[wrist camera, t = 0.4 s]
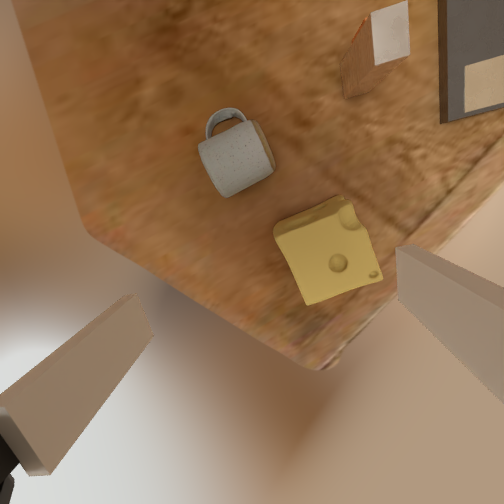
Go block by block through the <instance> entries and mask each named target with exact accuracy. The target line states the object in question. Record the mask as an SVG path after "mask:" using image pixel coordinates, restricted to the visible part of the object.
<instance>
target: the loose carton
mask: <svg viewBox="0 0 504 504" xmlns="http://www.w3.org/2000/svg"><path fill="white" fill-rule="evenodd" d="M409 55H410V43H409V22H408V1H404V2H401V3H398V4H395V5H392V6H389V7H386V8H383V9H380V10H377V11H374V12H371V13H370V15H369V16H368V17H366V18H365V19H364V20H363V22H362V24H361V26H360V27H359V29H358V31H357V33H356V34H355V36H354V38H353V39H352V45H351V47H350V48H349V50H348V52H347V53H346V55H345V57H344V58H343V60H342V62H341V63H340V70H341V78H342V87H343V95H344V99H347V98H351V97H354V96H358V95H361V94H364V93H368V92H369V91H370V90H371V89H372V88H373V87H375V86H376V85H377V84H378V83H379V82H380V81H381V80H382V79H383V78H385V77H386V76H387V75H388V74H389V73H390V72H391V71H392V70H394V69H395V68H396V67H397V66H398V65H399V64H400V63H401V62H403V61H404V60H405V59H406V58H407V57H408V56H409Z"/></svg>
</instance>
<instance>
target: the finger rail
mask: <svg viewBox="0 0 504 504" xmlns="http://www.w3.org/2000/svg"><path fill="white" fill-rule="evenodd" d="M438 33H439V88H440V124H442V123H446V122H450V121H454V120H457V119H461V118H465V117H469V116H473V115H477V114H481V113H484V112H488V111H492V110H496V109H500V108H504V0H438Z"/></svg>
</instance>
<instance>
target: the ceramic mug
mask: <svg viewBox="0 0 504 504" xmlns="http://www.w3.org/2000/svg"><path fill="white" fill-rule="evenodd" d="M232 117H237V118H240V119H241V120H242V121H243V122H242V123H239V124H237V125H235V126H234V127H232V128H230V129H228V130H226V131H224V132H222V133H220V134H218V135H215V136H213V137H211V135H212V130H213V128H214V126H215V125H216V124H217V123H219V122H221V121H223V120H225V119H228V118H232ZM198 151H199V154H200V157H201V160H202V162H203V165H204V167H205V169H206V171H207V173H208V175H209V176H210V178H211V180H212V182H213V184H214V186H215V187H216V189H217V190H218V191H219V192H220V194H221V195H222V196H223V197H225V198H228V197H230V196H232V195H234V194H236V193H238V192H240V191H242V190H244V189H246V188H247V187H249V186H251V185H253V184H255V183H257V182H259V181H260V180H262V179H264V178H266V177H268V176H269V175H270V174H272V173H273V172H274V171H275V168H276V164H275V160H274V157H273V155H272V152H271V149H270V147H269V145H268V142H267V140H266V138H265V135H264V133H263V131H262V129H261V127H260V125H259V123H258V122H257V121H255V120H248V121H247V119H246V117H245V116H244V115H243V113H242V112H241V111H239V110H238V109H235V108H225V109H221V110H219V111H217V112H215V113H214V114H213V115H212V116H211V117H210V118H209V120H208V122H207V125H206V140H205V141H203V142H201V143H200V144H198Z"/></svg>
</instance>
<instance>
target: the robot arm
mask: <svg viewBox="0 0 504 504" xmlns="http://www.w3.org/2000/svg"><path fill="white" fill-rule="evenodd" d="M395 249H396V267H397V285H398V300H399V301H400V302H401V303H402V304H403V305H404V306H405V307H406V308H407V309H408V310H409V311H410V312H411V313H412V314H413V315H414V316H415V317H416V318H417V319H418V320H419V321H420V322H421V323H422V324H423V325H424V326H425V327H426V328H427V329H428V330H429V331H430V332H431V333H432V334H433V335H434V336H435V337H436V338H437V339H438V340H439V341H440V342H441V343H442V344H443V345H444V346H445V347H446V348H447V349H448V350H449V351H450V352H451V353H452V354H453V355H454V356H455V357H456V358H457V359H458V360H459V361H461V363H462V364H463V365H464V366H465V367H466V368H467V369H468V370H470V371H471V372H472V373H473V374H474V375H475V376H476V377H477V378H478V379H479V380H480V381H481V382H482V383H483V384H484V385H485V386H486V387H487V388H488V389H489V390H490V391H491V392H492V393H493V394H494V395H495V396H496V397H497V398H498V399H499V400H500V401H501V402H502V403H503V404H504V288H503V287H501V286H499V285H497V284H495V283H493V282H491V281H489V280H486V279H485V278H482V277H480V276H478V275H476V274H474V273H472V272H470V271H468V270H466V269H464V268H462V267H460V266H457V265H455V264H453V263H451V262H449V261H447V260H445V259H443V258H441V257H439V256H437V255H435V254H433V253H431V252H428V251H426V250H424V249H422V248H420V247H418V246H416V245H414V244H412V245H406V246H400V247H395ZM153 337H154V335H153V332H152V330H151V328H150V325H149V322H148V320H147V318H146V315H145V313H144V310H143V308H142V305H141V303H140V300H139V297H138V295H137V293H135V294H130V295H124V296H123V297H122V298H120V299H119V300H118V301H117V302H115V303H114V304H113V305H112V306H110V307H109V308H108V309H107V310H106V311H104V312H103V313H102V314H100V315H99V316H98V317H97V318H95V319H94V320H93V321H92V322H90V323H89V324H88V325H87V326H85V327H84V328H83V329H82V330H80V331H79V332H78V333H76V334H75V335H74V336H73V337H71V338H70V339H69V340H68V341H66V342H65V343H64V344H63V345H61V346H60V347H59V348H58V349H56V350H55V351H54V352H53V353H51V354H50V355H49V356H48V357H46V358H45V359H44V360H43V361H41V362H40V363H39V364H38V365H37V366H35V367H34V368H33V369H31V370H30V371H29V372H28V373H26V374H25V375H24V376H23V377H21V378H20V379H19V380H18V381H17V382H15V383H14V384H13V385H11V386H10V387H9V388H8V389H6V390H5V391H4V392H3V393H1V394H0V504H9V502H10V499H11V495H12V491H13V488H14V478H13V477H12V476H11V474H10V473H11V472H12V470H13V469H14V468H15V467H16V466H17V465H18V464H19V463H20V464H21V466H22V467H23V468H24V470H25V471H26V473H27V474H28V475H29V476H43V475H51V473H52V472H53V471H54V469H55V468H56V467H57V465H58V464H59V463H60V461H61V460H62V459H63V457H64V456H65V455H66V453H67V452H68V450H69V449H70V448H71V447H72V445H73V444H74V443H75V441H76V440H77V439H78V437H79V436H80V435H81V433H82V432H83V431H84V429H85V428H86V427H87V425H88V424H89V423H90V421H91V420H92V418H93V417H94V416H95V414H96V413H97V411H98V410H99V409H100V408H101V406H102V405H103V404H104V402H105V401H106V400H107V398H108V397H109V396H110V394H111V393H112V392H113V390H114V389H115V388H116V386H117V385H118V383H119V382H120V381H121V380H122V378H123V377H124V376H125V374H126V373H127V372H128V370H129V369H130V368H131V366H132V365H133V363H134V362H135V361H136V359H137V358H138V357H139V356H140V354H141V353H142V351H143V350H144V349H145V347H146V346H147V345H148V343H149V342H150V341H151V339H152V338H153Z"/></svg>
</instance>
